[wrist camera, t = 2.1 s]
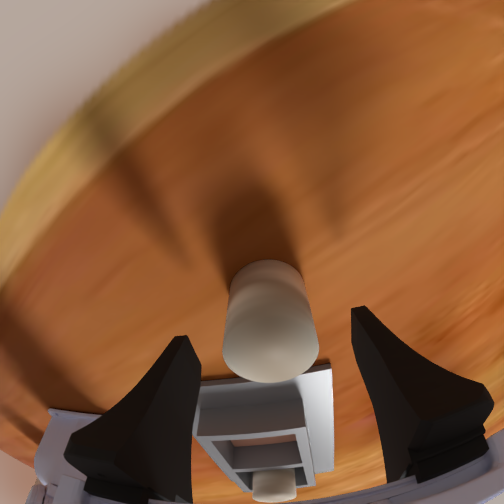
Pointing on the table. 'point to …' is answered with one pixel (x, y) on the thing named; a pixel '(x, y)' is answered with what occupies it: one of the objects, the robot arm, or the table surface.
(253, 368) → the cream cylinder
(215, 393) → the gray compartment tray
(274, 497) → the beige round piece
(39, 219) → the table surface
